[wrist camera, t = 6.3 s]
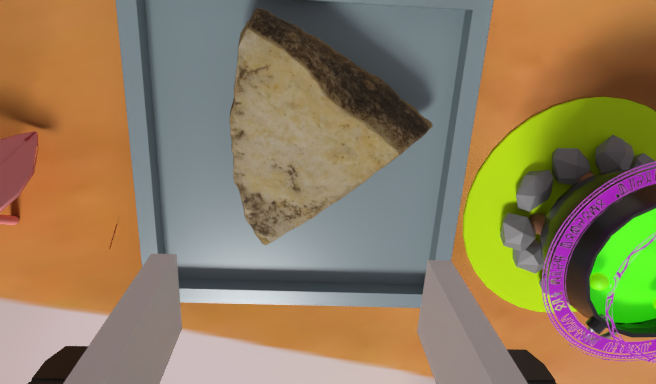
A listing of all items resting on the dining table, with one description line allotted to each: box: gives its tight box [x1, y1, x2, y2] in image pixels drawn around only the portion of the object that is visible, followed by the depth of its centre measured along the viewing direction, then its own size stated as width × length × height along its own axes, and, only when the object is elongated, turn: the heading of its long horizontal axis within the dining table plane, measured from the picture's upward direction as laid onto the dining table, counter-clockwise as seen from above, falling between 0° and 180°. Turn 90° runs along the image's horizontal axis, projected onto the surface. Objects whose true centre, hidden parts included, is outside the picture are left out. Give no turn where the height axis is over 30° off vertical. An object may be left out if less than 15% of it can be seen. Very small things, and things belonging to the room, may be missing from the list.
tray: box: [116, 0, 494, 308], centre depth 26 cm, size 19×19×2 cm
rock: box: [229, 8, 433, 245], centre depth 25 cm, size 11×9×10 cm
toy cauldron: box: [463, 97, 656, 363], centre depth 24 cm, size 15×15×11 cm
